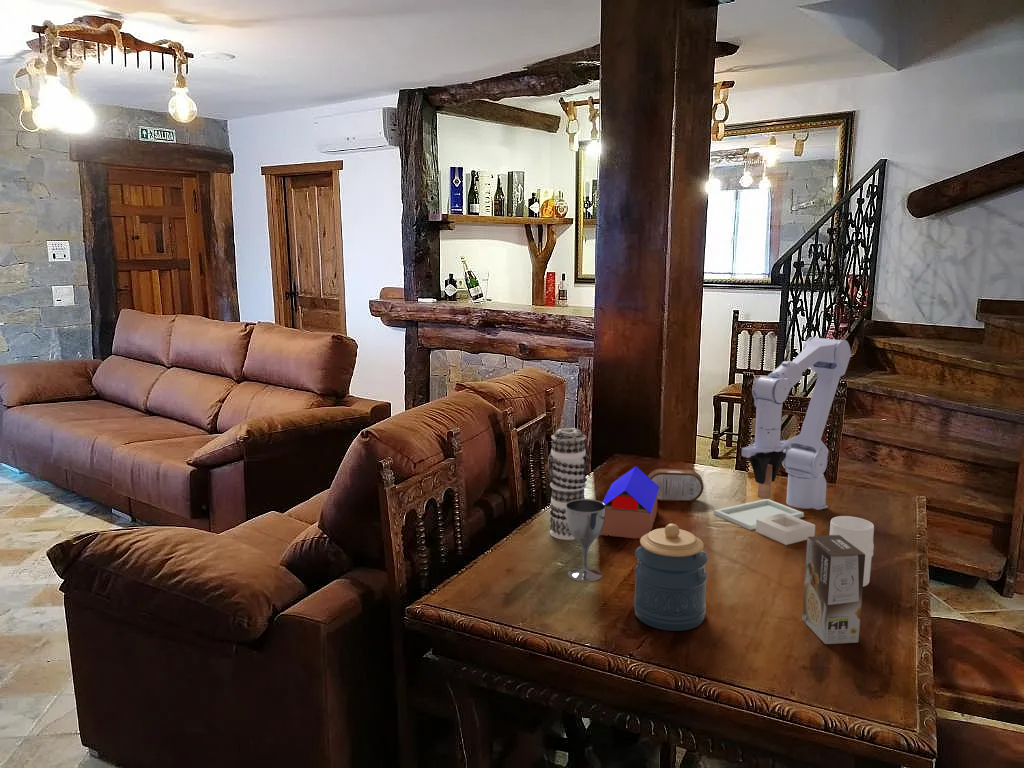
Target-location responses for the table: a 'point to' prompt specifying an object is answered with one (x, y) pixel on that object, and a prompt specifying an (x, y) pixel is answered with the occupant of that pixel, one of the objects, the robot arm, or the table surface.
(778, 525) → the cup block
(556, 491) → the decorative candle
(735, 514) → the tray
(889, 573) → the table surface
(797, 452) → the robot arm
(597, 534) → the wine glass
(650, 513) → the house
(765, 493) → the pin
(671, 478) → the tin
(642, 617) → the canister
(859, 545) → the mug
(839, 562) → the coffee box
